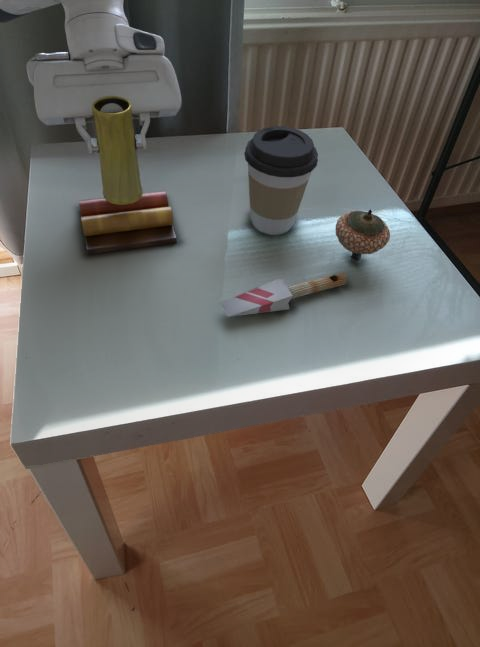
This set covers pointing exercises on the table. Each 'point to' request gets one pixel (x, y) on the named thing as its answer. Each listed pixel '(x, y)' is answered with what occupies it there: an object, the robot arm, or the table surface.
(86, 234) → the rod rack
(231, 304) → the sheathed knife
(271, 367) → the table surface
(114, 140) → the vase
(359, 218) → the acorn
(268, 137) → the coffee cup
